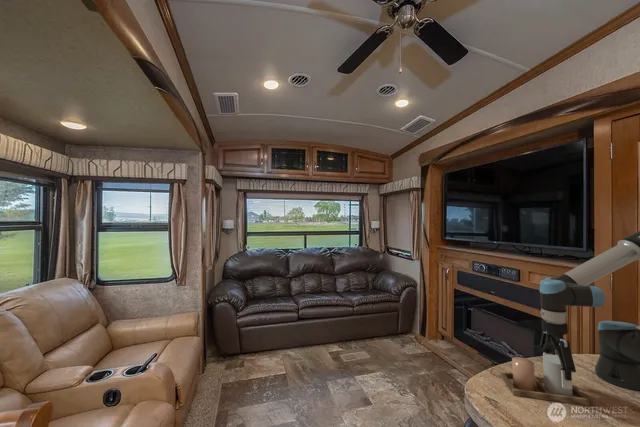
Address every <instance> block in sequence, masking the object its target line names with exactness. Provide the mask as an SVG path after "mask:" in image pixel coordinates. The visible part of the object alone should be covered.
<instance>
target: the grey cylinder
mask: <svg viewBox="0 0 640 427" xmlns="http://www.w3.org/2000/svg"><path fill="white" fill-rule="evenodd" d="M542 367H543V368H542V370H543V372H542V373H543V377H544V387H545V389H546V390H547V391H548V392H549V393H550V394H557V395H565V396H572V397H573V391H572V389H566V388H563V387H562V376H561V368H562V365H561V362H560V359H559V356H558V355H554V354H552V355H549V354H547V355H543V354H542Z"/></svg>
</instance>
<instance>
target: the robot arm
mask: <svg viewBox="0 0 640 427" xmlns="http://www.w3.org/2000/svg"><path fill="white" fill-rule="evenodd" d="M635 261H640V230H639V231H636V232H634V233H632V234H629V235H627V236H625V237H624V238H622V239H620V240H618V241H617V245H615V246H613V247H611V248H609V249H607V250H606V251H603V252H602V253H600V254H598V255H596V256H595V257H592V258H591V259H589V260H587V261H584V262H583V263H581V264H579V265H578V266H576V267H574V268H572V269H570V270H568V271H566V272H565V273H563V274H561V275H559V276H557V277H555V276H551V277H550V276H548V277H546V278H545V279H542V280H540V282H539V295H540V311H539V314H540V315H541V336H540V342H539V348H540V349H541V351H542V352H543V353H542V356H543V355H547V354H549V355H553V353H554V352H553V351H552V350H553V349H554V350H555V351H556V353H557V356H559V359H560V362H561V365H562V368H561V376H562V387H563V388H566V389H572V385H573V375H572V373H576V372H577V370H576V366H575V363H574V362H575V361H574V357H573V354H572V350H571V343H570V341H568V340H565V339H564V336H565V335H567V334H568V333H569V328H568V311H567V309H568V308H567V307H587V308H595V307H596V308H598V307H599V308H600V307H603V306H604V305H605V304H606V294H605V292H604V290H602V288H600V287H598V286H595V285H594V286H592V285H590V284H592V283H594V282H597V281H598V280H600V279H602V278H604V277H606V276H607V275H609V274H610V275H611V274H612V273H613V272H615V271H618V270H620V269H621V268H623V267H625V266H627V265H629V264H631V263H632V262H635ZM597 332H598V346H599V347H598V348H599V357H598V359H597V361H596V364H595V366H594V374H595V375H596V376H597V377H598V378H599V379H601V380H603V381H605V382H607V383H609V384H611V385H614V386H616V387H620V388H624V389H628V390H633V391H640V325H637V324H635V323H629V322H625V321H616V320H615V321H614V320H602V321H601V320H600V321H599V322H598V324H597Z"/></svg>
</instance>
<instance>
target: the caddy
mask: <svg viewBox="0 0 640 427" xmlns="http://www.w3.org/2000/svg"><path fill="white" fill-rule="evenodd" d="M500 378H501V379H502V381H503V383H505V385H506V387H507V388H508V390H509V391H510V393H511V395H512V396H516V397H522V398H529V399H530V398H531V399H536V400H544V401H551V402H558V403H564V404H571V405H579V406H588V407H590V400H589V399H588V398H587V397H586V396H585V395H584V394H583V393H582V392H580V391H579V389H578V388H576V387H575V386H574V384H572V391H573V397H572V396H565V395H557V394H550V393H549V392H548V391H547V390H546V389H545V387H544V376H542V375H541V376H540V375H535V389H536V391H535V392H534V391H527V390H519V389H516V388H515V387H514V386H513V372H507V371H500Z"/></svg>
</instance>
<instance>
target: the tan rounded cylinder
mask: <svg viewBox="0 0 640 427" xmlns="http://www.w3.org/2000/svg"><path fill="white" fill-rule="evenodd" d="M511 364H512V366H511V367H512V373H513V386H514V387H515V388H516V389H519V390H527V391H534V392H535V391H536V389H535V376H536V375H535V374H536V373H535V362H533V361H532V360H530V359H528V358H525V357H520V356H515V357H512V358H511Z"/></svg>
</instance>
